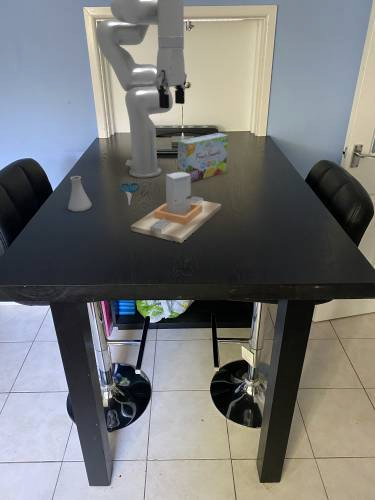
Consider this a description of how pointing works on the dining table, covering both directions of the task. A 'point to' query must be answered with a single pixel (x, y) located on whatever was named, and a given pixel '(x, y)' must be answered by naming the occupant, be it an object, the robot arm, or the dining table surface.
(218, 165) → the snack box
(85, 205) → the flask
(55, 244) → the dining table surface
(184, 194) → the skincare box
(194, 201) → the board
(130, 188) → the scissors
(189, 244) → the dining table surface
